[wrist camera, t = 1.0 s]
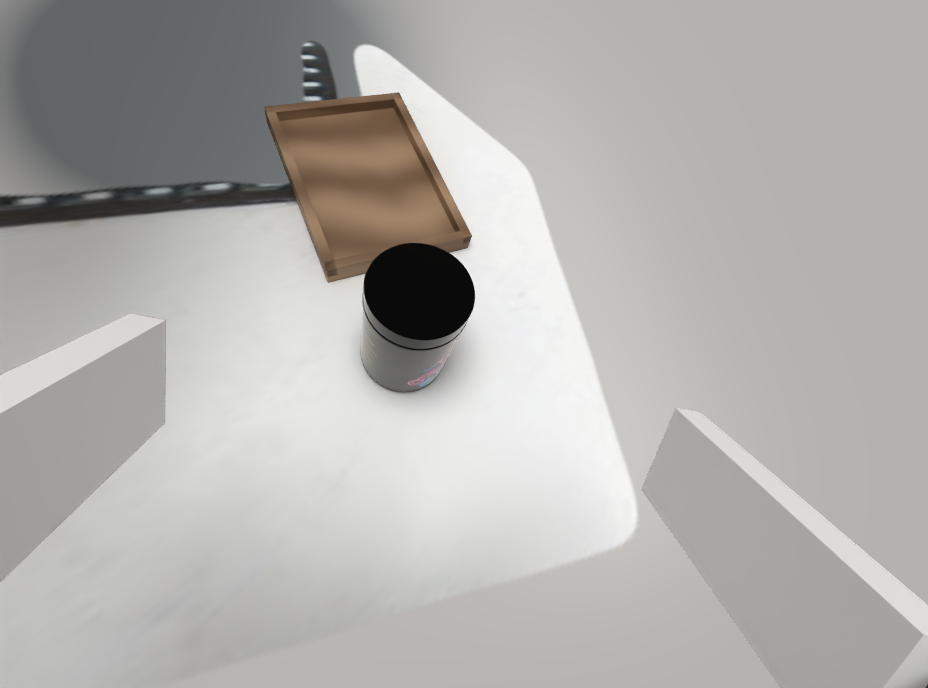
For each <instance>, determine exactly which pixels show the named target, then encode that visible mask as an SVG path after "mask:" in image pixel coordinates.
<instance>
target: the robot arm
mask: <svg viewBox="0 0 928 688" xmlns="http://www.w3.org/2000/svg"><path fill="white" fill-rule="evenodd" d="M165 379H166V320H164V319H158V318H152V317H147V316H141V315H135V314H128V315H126V316H124V317H122V318H120V319H118V320H116V321H113V322H111V323H109V324H107V325H105V326H103V327H101V328H99V329H97V330H94V331H92V332H90V333H88V334H86V335H84V336H82V337H80V338H78V339H75V340H73V341H71V342H69V343H67V344H65V345H63V346H61V347H59V348H56V349H54V350H52V351H50V352H48V353H46V354H44V355H42V356H40V357H37V358H35V359H33V360H31V361H29V362H27V363H25V364H23V365H20V366H18V367H16V368H14V369H12V370H10V371H8V372H6V373H4V374H1V375H0V582H1V581H2V580H3V579H4V578H5V577H6V576H7V575H8V574H9V573H10V572H11V571H12V570H13V569H14V568H15V567H16V566H17V565H18V564H19V563H20V562H21V561H22V560H24V559H25V558H26V557H27V556H28V555H29V554H30V553H31V552H32V551H33V550H34V549H35V548H36V547H37V546H38V545H39V544H40V543H41V542H42V541H43V540H44V539H45V538H46V537H47V536H48V535H49V534H50V533H52V532H53V531H54V530H55V529H56V528H57V527H58V526H59V525H60V524H61V523H62V522H63V521H64V520H65V519H66V518H67V517H68V516H69V515H70V514H71V513H72V512H73V511H74V510H75V509H76V508H77V507H78V506H80V505H81V504H82V503H83V502H84V501H85V500H86V499H87V498H88V497H89V496H90V495H91V494H92V493H93V492H94V491H95V490H96V489H97V488H98V487H99V486H100V485H101V484H102V483H103V482H104V481H105V480H106V479H108V478H109V477H110V476H111V475H112V474H113V473H114V472H115V471H116V470H117V469H118V468H119V467H120V466H121V465H122V464H123V463H124V462H125V461H126V460H127V459H128V458H129V457H130V456H131V455H132V454H133V453H134V452H135V451H137V450H138V449H139V448H140V447H141V446H142V445H143V444H144V443H145V442H146V441H147V440H148V439H149V438H150V437H151V436H152V435H153V434H154V433H155V432H156V431H157V430H158V429H159V428H160V427H161V426H162V425H163V424H165ZM641 490H642V491H643V493H644V494H645V496H646V497H647V498H648V500H649V501H650V503H651V504H652V506H653V507H654V509H655V510H656V511H657V513H658V514H659V515H660V517H661V518H662V520H663V521H664V523H665V524H666V526H667V527H668V528H669V530H670V531H671V533H672V534H673V536H674V537H675V538H676V540H677V541H678V543H679V544H680V546H681V547H682V548H683V550H684V551H685V553H686V554H687V555H688V557H689V558H690V560H691V561H692V563H693V564H694V565H695V567H696V568H697V570H698V571H699V573H700V574H701V576H702V577H703V578H704V580H705V581H706V583H707V584H708V586H709V587H710V588H711V590H712V591H713V593H714V594H715V596H716V597H717V598H718V600H719V601H720V603H721V604H722V605H723V607H724V608H725V610H726V611H727V613H728V614H729V615H730V617H731V618H732V620H733V621H734V623H735V624H736V626H737V627H738V628H739V630H740V631H741V633H742V634H743V636H744V637H745V638H746V640H747V641H748V643H749V644H750V645H751V647H752V648H753V650H754V651H755V652H756V654H757V655H758V657H759V658H760V660H761V661H762V662H763V664H764V665H765V667H766V668H767V670H768V671H769V672H770V674H771V675H772V677H773V678H774V680H775V681H776V683H777V684H778V685H779V687H780V688H928V605H927V604H926V603H924V602H923V601H922V600H921V599H920V598H918V597H917V596H916V595H915V594H914V593H913V592H912V591H910V590H909V589H908V588H907V587H905V586H904V585H903V584H902V583H901V582H900V581H898V580H897V579H896V578H895V577H894V576H893V575H891V574H890V573H889V572H888V571H887V570H886V569H884V568H883V567H882V566H881V565H880V564H878V563H877V562H876V561H875V560H874V559H873V558H871V557H870V556H869V555H868V554H867V553H865V552H864V551H863V550H862V549H861V548H860V547H858V546H857V545H856V544H855V543H854V542H852V541H851V540H850V539H849V538H848V537H846V536H845V535H844V534H843V533H842V532H841V531H839V530H838V529H837V528H836V527H835V526H834V525H833V524H831V523H830V522H829V521H828V520H827V519H825V518H824V517H823V516H822V515H821V514H820V513H818V512H817V511H816V510H815V509H814V508H812V507H811V506H810V505H809V504H808V503H806V502H805V501H804V500H803V499H802V498H801V497H800V496H798V495H797V494H796V493H795V492H794V491H792V490H791V489H790V488H789V487H788V486H786V485H785V484H784V483H783V482H782V481H781V480H779V479H778V478H777V477H776V476H775V475H774V474H772V473H771V472H770V471H769V470H768V469H766V468H765V467H764V466H763V465H762V464H761V463H759V462H758V461H757V460H756V459H755V458H754V457H752V456H751V455H750V454H749V453H748V452H746V451H745V450H744V449H743V448H742V447H741V446H739V445H738V444H737V443H736V442H735V441H733V440H732V439H731V438H730V437H729V436H728V435H726V434H725V433H724V432H723V431H722V430H720V429H719V428H718V427H717V426H716V425H715V424H713V423H712V422H711V421H710V420H709V419H708V418H706V417H705V416H704V415H703V414H702V413H700V412H695V411H690V410H684V409H678V408H676V409H675V411H674V413H673V415H672V418H671V420H670V422H669V425H668V427H667V430H666V432H665V434H664V437H663V439H662V441H661V444H660V446H659V449H658V451H657V453H656V456H655V458H654V460H653V463H652V465H651V467H650V470H649V472H648V474H647V477H646V479H645V482H644V484H643V486H642V489H641Z"/></svg>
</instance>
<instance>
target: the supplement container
mask: <svg viewBox="0 0 928 688" xmlns="http://www.w3.org/2000/svg"><path fill="white" fill-rule="evenodd" d="M474 302H475V291H474V285H473V282H472V279H471V277H470V275H469V273H468V271H467V270H466V268H465V267H464V266H463V265H462V263H461V262H460V261H459V260H458V259H456V258H455V257H454V256H453V255H451V254H450V253H448V252H447V251H445V250H443V249H441V248H438V247H436V246H433V245H429V244H423V243H405V244H400V245H396V246H393V247H391V248H389V249H387V250H385V251H384V252H382V253H381V254H379V255H378V256H377V257H376V258H375V259H374V260H373V262H372V263H371V264H370V266H369V268H368V270H367V272H366V275H365V278H364V289H363V299H362V303H363V317H362V336H361V358H362V362H363V365H364V367H365V369H366V371H367V372H368V374H369V375H370V376H371V377H372V378H373V379H374V380H375V381H376V382H377V383H379V384H380V385H382V386H384V387H386V388H388V389H391V390H395V391H414V390H418V389H420V388H423V387H425V386H427V385H428V384H430V383H431V382H432V381H433V380H434V379H435V378H436V377H437V376H438V375H439V373H440V371H441V370H442V368H443V366H444V364H445V362H446V360H447V358H448V356H449V354H450V352H451V350H452V348H453V346H454V344H455V343H456V341H457V339H458V337H459V335H460V333H461V332H462V331H463V329H464V327H465V325H466V323H467V321H468V319H469V317H470V315H471V312H472V310H473V307H474Z"/></svg>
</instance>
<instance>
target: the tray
mask: <svg viewBox="0 0 928 688" xmlns="http://www.w3.org/2000/svg"><path fill="white" fill-rule="evenodd" d="M264 109H265V114H266V119H267V124H268V126H269V129H270V132H271V134H272V136H273V139H274V142H275V145H276V147H277V150H278V152H279V155H280V158H281V160H282V163H283V166H284V168H285V171H286V174H287V176H288V179H289V181H290V184H291V187H292V189H293V192H294V195H295V197H296V200H297V202H298V205H299V208H300V210H301V213H302V216H303V218H304V221H305V223H306V226H307V229H308V231H309V234H310V237H311V239H312V242H313V244H314V247H315V250H316V252H317V255H318V257H319V260H320V263H321V265H322V268H323V271H324V273H325V276H326V278H327V281H328V282H332V281H336V280H340V279H344V278H348V277H352V276H356V275H360V274H364V273H366V272H367V270H368V268H369V266H370V264H371V263H372V262H373V260H374V259H375V258H376V257H377V256H378V255H379V254H381V253H382V252H384V251H385V250H387V249H389V248H391V247H393V246H396V245H400V244H405V243H423V244H429V245H433V246H436V247H438V248H441V249H443V250H445V251H447V252H453V251H457V250H461V249H465V248H467V247H468V245H469V242H470V240H471V237H472V235H471V233H470V231H469V229H468V227H467V225H466V223H465V221H464V219H463V217H462V215H461V213H460V212H459V210H458V208H457V206H456V204H455V202H454V200H453V198H452V196H451V194H450V192H449V190H448V188H447V186H446V184H445V182H444V180H443V178H442V176H441V174H440V172H439V170H438V168H437V166H436V164H435V162H434V160H433V158H432V156H431V154H430V153H429V151H428V149H427V147H426V145H425V143H424V141H423V139H422V137H421V135H420V133H419V131H418V129H417V127H416V125H415V123H414V121H413V119H412V117H411V115H410V113H409V111H408V109H407V107H406V105H405V103H404V101H403V99H402V97H401V95H400V94H399V93H390V94H381V95H371V96H362V97H353V98H343V99H333V100H324V101H314V102H305V103H296V104H287V105H277V106H267V107H264Z"/></svg>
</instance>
